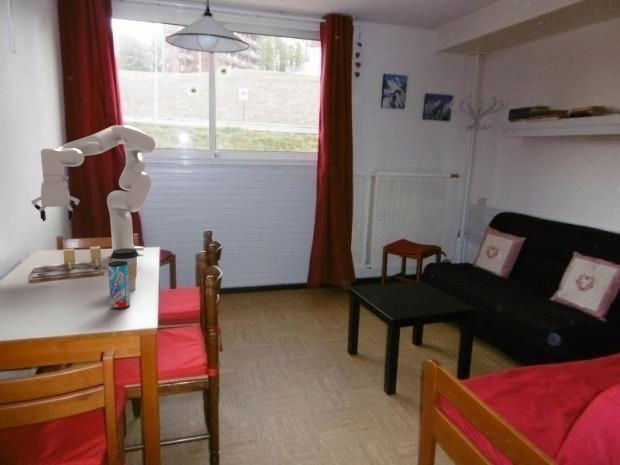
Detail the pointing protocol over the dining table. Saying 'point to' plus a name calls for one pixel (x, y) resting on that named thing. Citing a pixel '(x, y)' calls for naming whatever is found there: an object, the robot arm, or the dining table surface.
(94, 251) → the fixed leg
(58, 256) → the dining table surface
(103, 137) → the robot arm
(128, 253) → the coffee cup
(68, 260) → the block
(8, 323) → the dining table surface
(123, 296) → the beverage can
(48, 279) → the board
